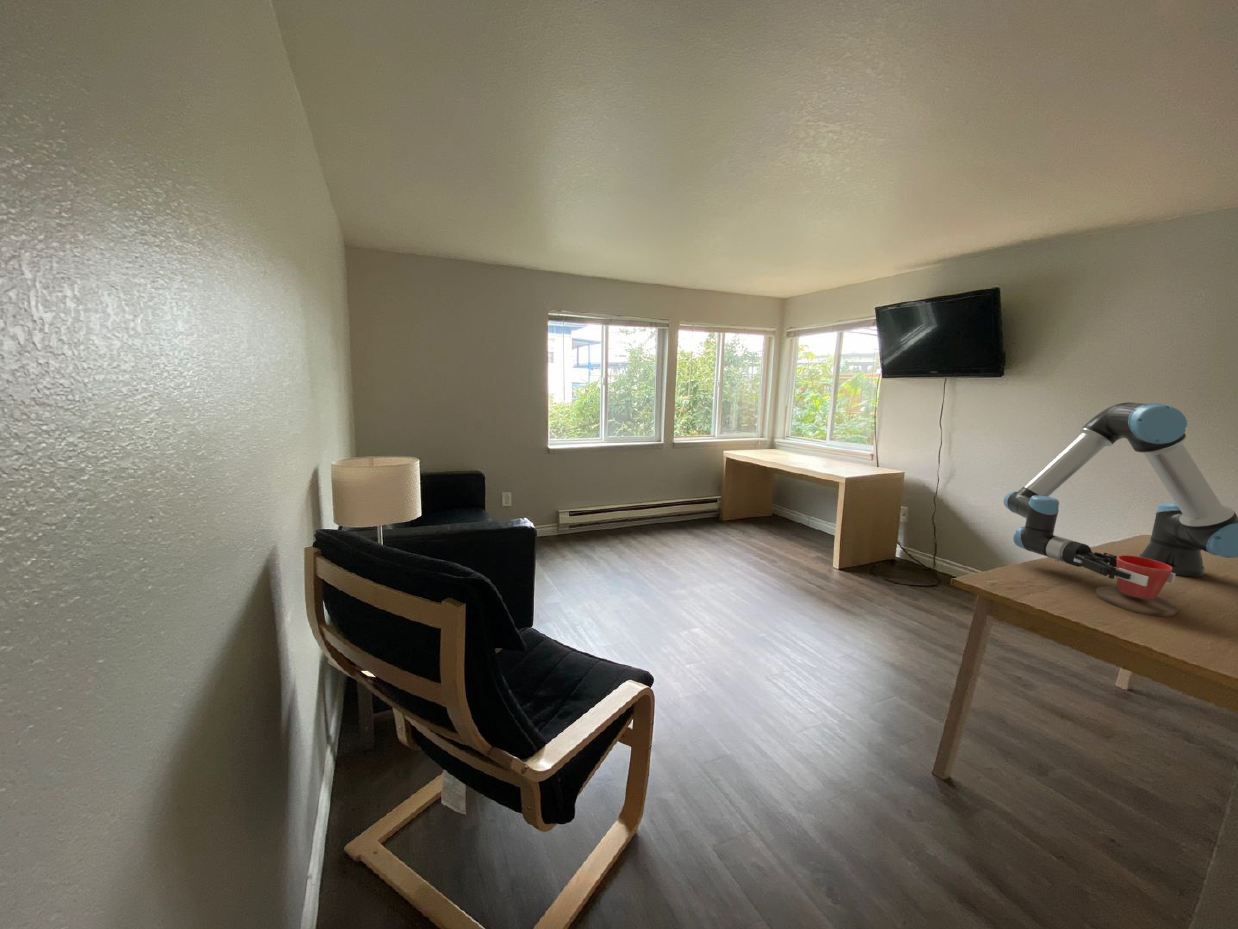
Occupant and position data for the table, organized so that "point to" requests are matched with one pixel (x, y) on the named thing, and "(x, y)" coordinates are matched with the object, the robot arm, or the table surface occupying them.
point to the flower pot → (1145, 567)
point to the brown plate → (1136, 602)
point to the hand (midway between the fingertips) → (1160, 580)
